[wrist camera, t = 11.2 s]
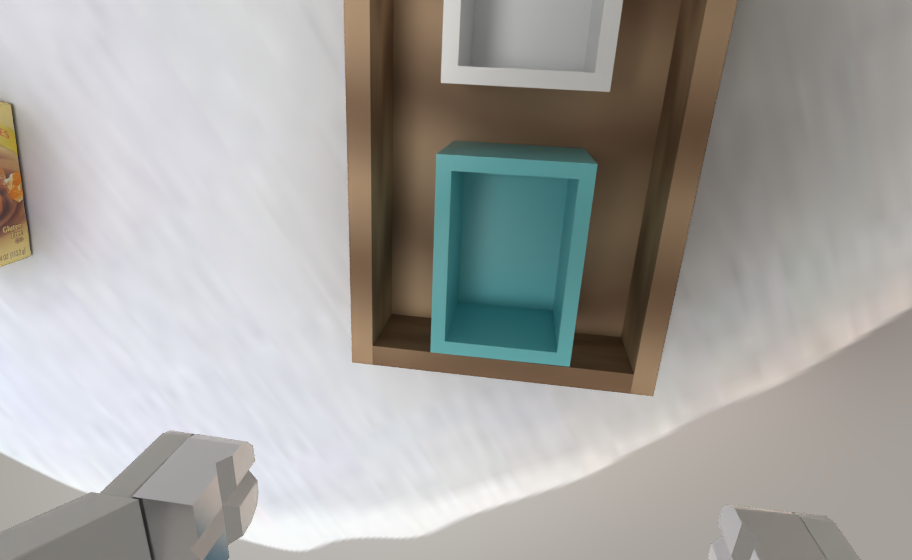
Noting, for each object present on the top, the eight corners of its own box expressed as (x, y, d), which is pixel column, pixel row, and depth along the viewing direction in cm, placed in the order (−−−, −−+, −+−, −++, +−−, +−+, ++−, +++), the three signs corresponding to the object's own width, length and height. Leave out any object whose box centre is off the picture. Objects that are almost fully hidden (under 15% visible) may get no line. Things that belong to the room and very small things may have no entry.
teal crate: (454, 140, 25) (436, 153, 20) (584, 148, 24) (597, 163, 19) (447, 307, 28) (430, 352, 23) (562, 317, 27) (569, 366, 22)
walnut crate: (375, -194, 21) (337, -262, 17) (739, -195, 20) (795, -269, 16) (377, 322, 29) (352, 362, 25) (634, 349, 28) (653, 396, 24)
